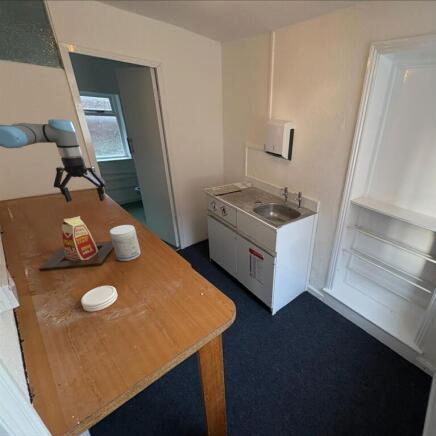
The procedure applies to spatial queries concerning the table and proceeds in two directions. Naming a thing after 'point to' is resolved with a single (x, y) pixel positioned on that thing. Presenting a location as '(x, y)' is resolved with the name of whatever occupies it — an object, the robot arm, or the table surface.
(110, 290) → the coaster
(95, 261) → the holder board
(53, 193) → the table surface
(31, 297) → the table surface
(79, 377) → the table surface
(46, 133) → the robot arm
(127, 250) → the supplement tub
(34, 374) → the table surface
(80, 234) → the milk carton
